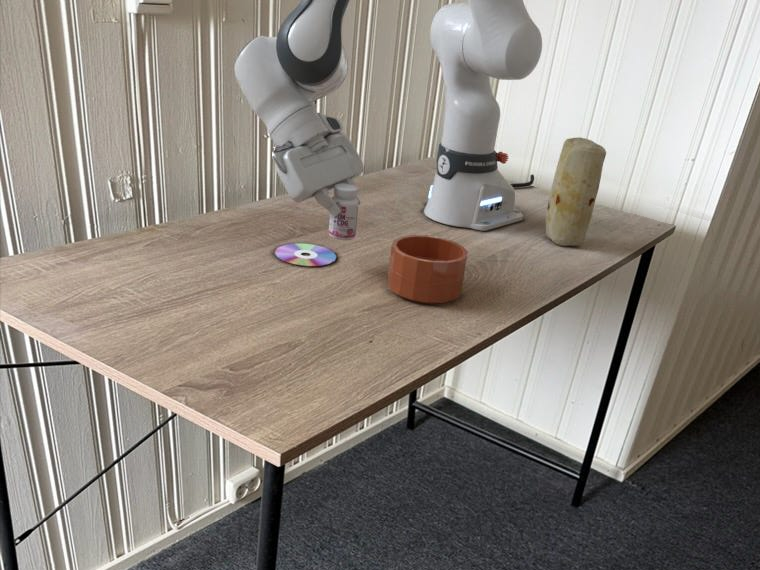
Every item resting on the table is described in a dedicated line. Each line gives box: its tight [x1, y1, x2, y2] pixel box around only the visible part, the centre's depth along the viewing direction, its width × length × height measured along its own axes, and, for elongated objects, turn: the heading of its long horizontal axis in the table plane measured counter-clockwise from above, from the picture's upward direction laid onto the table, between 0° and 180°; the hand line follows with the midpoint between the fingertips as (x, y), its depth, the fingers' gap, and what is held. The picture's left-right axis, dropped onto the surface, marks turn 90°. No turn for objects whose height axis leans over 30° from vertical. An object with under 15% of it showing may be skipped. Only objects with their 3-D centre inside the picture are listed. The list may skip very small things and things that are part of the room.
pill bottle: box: [328, 183, 360, 241], centre depth 143 cm, size 5×5×8 cm
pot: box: [386, 234, 469, 304], centre depth 141 cm, size 13×13×8 cm
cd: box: [274, 242, 337, 267], centre depth 151 cm, size 11×11×1 cm
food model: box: [545, 137, 607, 247], centre depth 167 cm, size 10×7×20 cm
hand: (347, 210), depth 142 cm, fingers closed on pill bottle, 5 cm apart
